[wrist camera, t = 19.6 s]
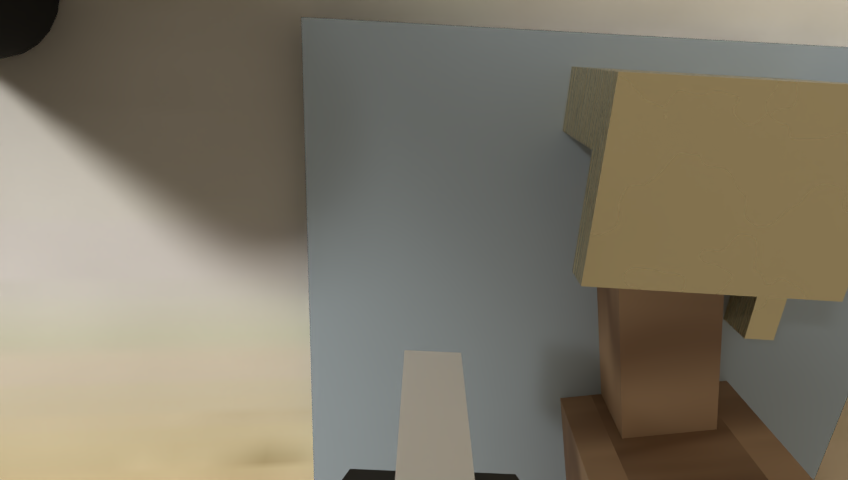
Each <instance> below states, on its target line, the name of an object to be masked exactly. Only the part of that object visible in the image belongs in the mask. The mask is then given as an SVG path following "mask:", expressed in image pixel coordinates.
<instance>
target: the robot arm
mask: <svg viewBox="0 0 848 480" xmlns="http://www.w3.org/2000/svg"><path fill="white" fill-rule="evenodd" d="M342 480H519V478H518V477H517V476H516V474H500V473H476V472H474V467H473V458H472V449H471V439H470V430H469V421H468V412H467V403H466V393H465V384H464V375H463V366H462V357H461V353H457V352H434V351H412V350H404V363H403V377H402V391H401V404H400V418H399V432H398V446H397V459H396V471H391V470H367V469H349V471H348V472H347V473H346V475H345V476H344V478H343V479H342Z"/></svg>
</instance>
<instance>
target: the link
mask: <svg viewBox="0 0 848 480" xmlns="http://www.w3.org/2000/svg"><path fill="white" fill-rule="evenodd" d="M597 301H598V327H599V352H600V378H601V394H595V395H586V396H576V397H567V398H560V401H561V415H562V429H563V443H564V457H565V471H566V480H813V479H812V478H811V477H810V475H809V474H808V473H807V472H806V471H805V470H804V469H803V467H802V466H801V465H800V464H799V463H798V462H797V461H796V459H795V458H794V457H793V456H792V455H791V454H790V453H789V451H788V450H787V449H786V448H785V447H784V446H783V445H782V443H781V442H780V441H779V440H778V439H777V438H776V437H775V435H774V434H773V433H772V432H771V431H770V430H769V429H768V427H767V426H766V425H765V424H764V423H763V422H762V421H761V419H760V418H759V417H758V416H757V415H756V414H755V413H754V411H753V410H752V409H751V408H750V407H749V406H748V405H747V403H746V402H745V401H744V400H743V399H742V398H741V397H740V395H739V394H738V393H737V392H736V391H735V390H734V389H733V387H732V386H731V385H730V384H729V383H728V382H727V381H719V378H720V360H721V341H722V322H723V304H724V295H720V294H703V293H686V292H669V291H652V290H636V289H619V288H602V287H597Z"/></svg>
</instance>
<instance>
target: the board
mask: <svg viewBox="0 0 848 480" xmlns="http://www.w3.org/2000/svg"><path fill="white" fill-rule="evenodd" d="M301 20H302V57H303V93H304V129H305V166H306V202H307V238H308V275H309V311H310V347H311V384H312V420H313V456H314V480H342V479H343V478H344V476H345V475H346V473H347V472H348V471H349V469H367V470H391V471H396V459H397V446H398V432H399V418H400V404H401V391H402V377H403V363H404V350H412V351H434V352H457V353H461V357H462V366H463V375H464V384H465V393H466V403H467V412H468V421H469V430H470V439H471V449H472V458H473V467H474V472H476V473H500V474H516V476H517V477H518V478H519V480H566V471H565V457H564V443H563V429H562V415H561V401H560V398H567V397H576V396H586V395H595V394H601V378H600V352H599V327H598V301H597V287H585V286H581V285H580V284H579V282H578V280H577V279H576V277H575V275H574V274H573V272H572V269H573V263H574V257H575V251H576V245H577V239H578V233H579V227H580V220H581V214H582V208H583V202H584V196H585V190H586V184H587V178H588V172H589V166H590V160H591V154H592V149H590V148H588V147H587V146H585V145H584V144H582V143H581V142H579V141H578V140H576V139H574V138H573V137H571V136H570V135H568V134H567V133H565V132H563V131H562V130H563V123H564V116H565V109H566V102H567V95H568V88H569V81H570V74H571V67H589V68H607V69H625V70H643V71H661V72H679V73H696V74H714V75H732V76H750V77H768V78H786V79H802V80H815V81H828V82H841V83H848V47H833V46H815V45H797V44H779V43H761V42H743V41H725V40H707V39H689V38H671V37H653V36H634V35H616V34H598V33H580V32H562V31H544V30H526V29H508V28H490V27H472V26H454V25H435V24H417V23H399V22H381V21H363V20H345V19H327V18H309V17H301ZM729 297H730V295H724V304H723V318H724V315H725V311H726V308H727V304H728V301H729ZM719 381H727V382H728V383H729V384H730V385H731V386H732V387H733V389H734V390H735V391H736V392H737V393H738V394H739V395H740V397H741V398H742V399H743V400H744V401H745V402H746V403H747V405H748V406H749V407H750V408H751V409H752V410H753V411H754V413H755V414H756V415H757V416H758V417H759V418H760V419H761V421H762V422H763V423H764V424H765V425H766V426H767V427H768V429H769V430H770V431H771V432H772V433H773V434H774V435H775V437H776V438H777V439H778V440H779V441H780V442H781V443H782V445H783V446H784V447H785V448H786V449H787V450H788V451H789V453H790V454H791V455H792V456H793V457H794V458H795V459H796V461H797V462H798V463H799V464H800V465H801V466H802V467H803V469H804V470H805V471H806V472H807V473H808V474H809V475H810V477H811V478H812V479H813V480H814V479H815V476H816V474H817V471H818V469H819V466H820V464H821V461H822V459H823V456H824V454H825V452H826V449H827V447H828V444H829V442H830V439H831V437H832V434H833V432H834V429H835V427H836V424H837V422H838V419H839V417H840V414H841V412H842V409H843V407H844V404H845V402H846V400H847V397H848V288H847V291H846V294H845V296H844V299H843V302H837V301H821V300H804V299H787V301H786V304H785V307H784V310H783V313H782V316H781V319H780V322H779V325H778V328H777V331H776V334H775V337H774V340H760V339H744V338H743V337H742V336H741V335H740V334H739V333H738V332H737V331H736V330H735V329H734V328H733V327H732V326H731V325H729V324H728V323H727V322H726V321H725V320H724V319H723V322H722V341H721V360H720V378H719Z"/></svg>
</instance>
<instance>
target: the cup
mask: <svg viewBox="0 0 848 480" xmlns="http://www.w3.org/2000/svg"><path fill="white" fill-rule="evenodd" d="M58 5H59V0H0V58H5V57H10V56H14V55H18V54H22V53H24V52H26V51H27V50H29V49H31V48H32V47H34V46H36V45H37V44H38V43H39V42H40V41H41V40H42V39H43V38H44V37H45V35H46V34H47V33H48V32H49V31H50V28H51V26H52V24H53V22H54V19H55V17H56V15H57V11H58Z"/></svg>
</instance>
